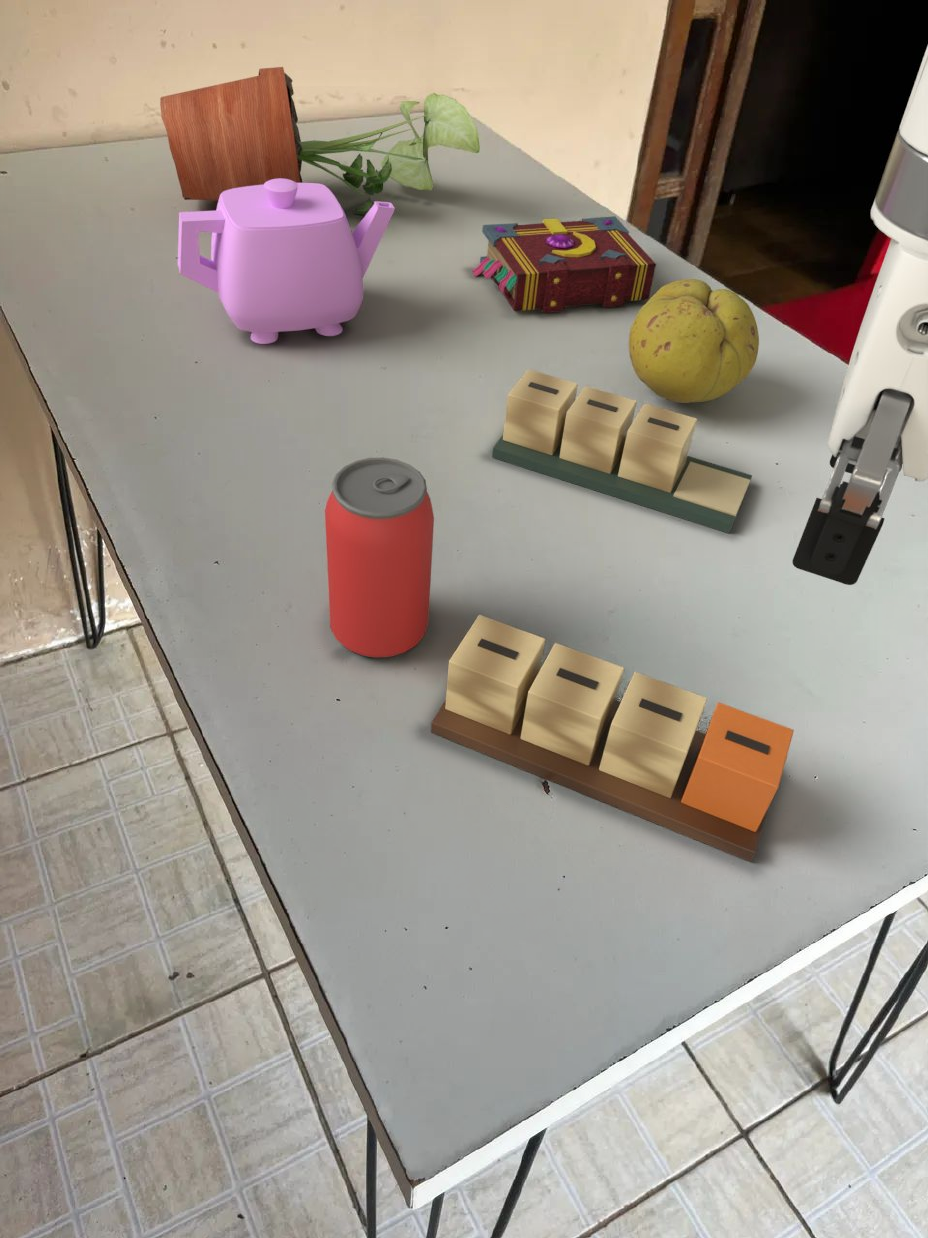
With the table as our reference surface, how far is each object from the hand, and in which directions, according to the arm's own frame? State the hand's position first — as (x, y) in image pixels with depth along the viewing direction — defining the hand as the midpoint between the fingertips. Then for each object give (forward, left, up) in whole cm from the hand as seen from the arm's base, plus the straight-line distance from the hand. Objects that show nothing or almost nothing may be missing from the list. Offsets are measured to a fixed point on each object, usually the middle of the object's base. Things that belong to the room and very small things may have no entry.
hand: (841, 519), depth 52 cm
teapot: (+52, -28, -16) cm, 61 cm away
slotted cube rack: (+16, -20, -15) cm, 30 cm away
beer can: (+25, +5, -16) cm, 30 cm away
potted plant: (+62, -53, -16) cm, 83 cm away
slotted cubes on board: (+8, +8, -15) cm, 19 cm away
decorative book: (+32, -48, -16) cm, 59 cm away
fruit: (+15, -34, -16) cm, 40 cm away
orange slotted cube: (0, +8, -14) cm, 17 cm away
